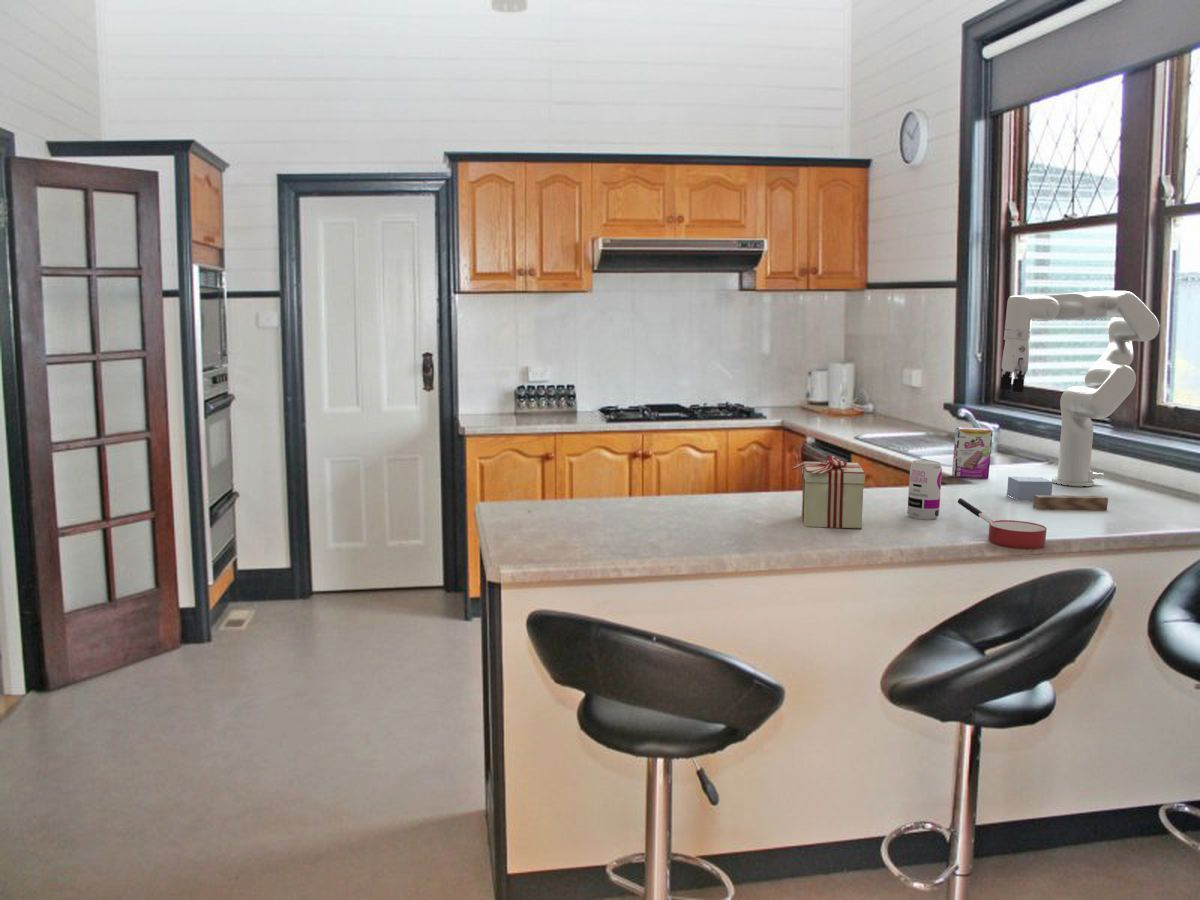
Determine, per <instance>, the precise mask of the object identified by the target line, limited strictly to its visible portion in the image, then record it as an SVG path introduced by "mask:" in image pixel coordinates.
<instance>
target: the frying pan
mask: <svg viewBox="0 0 1200 900" xmlns="http://www.w3.org/2000/svg"><path fill="white" fill-rule="evenodd" d="M957 503H958V505H960V506H962V507H963V508H964V509H966V510H968V511H969V512H970V513H972V514H974V515H975V516H976V517H978V518H981V519H982V520H984V521H985V522H987V523H988V539H987V540H988V542H990V543H992V544H993V545H996V546H1000V547H1005V548H1011V549H1018V550H1019V549H1020V550H1022V549H1023V550H1025V549H1026V550H1032V549H1033V550H1034V549H1035V550H1036V549H1041V548H1043V547H1045V545H1046V540H1047V527H1046V526H1044V525H1042V524H1040V523H1039V524H1038V523H1034V522H1031V521H1030V522H1029V521H1022V520H1012V519H1011V520H1010V519H1009V520H1008V519H1007V520H1005V519H1004V520H1001V519H1000V520H993V519H991V518H990V517H988V516H987V515H986V514H984V513H983V511H981V510H979V509H978V508H977V507H975V506H973V505H972V503H970V502H968V501H966V500H965V499H963V498H958V500H957Z"/></svg>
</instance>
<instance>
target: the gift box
mask: <svg viewBox="0 0 1200 900" xmlns="http://www.w3.org/2000/svg"><path fill="white" fill-rule="evenodd" d="M827 459H828V460H824V461H802V462H801V463H798V464H796V465H795V466H793V467H791V468H790V470H792V471H793V470H797V469H798V468H800V467H801V473H802V495H801V496H802V497H801V499H802V500H801V520H802V522H803V526H804V527H805V528H827V529H856V530H857V529H862V528H863V506H864V505H863V503H864V485H865V484H866V483H865V482H866V472H865V470H864V469H863V468H862V467H861V465H860V464H859V462H846V461H842V460H841V459H839V458H837V457H836V456H834V455H831V454H827Z"/></svg>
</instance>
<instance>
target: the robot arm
mask: <svg viewBox="0 0 1200 900" xmlns="http://www.w3.org/2000/svg"><path fill="white" fill-rule="evenodd" d="M1105 318H1106V319H1107V318H1111V319H1110V321H1109V322H1108V326H1107V332H1108V346H1107V349H1106V350H1105V351H1104V353H1103V354H1102V355H1101V357H1100V358H1099V359H1097V361H1096V362H1095V363H1094V364H1093V365H1092V366H1091V367H1090V369H1089V370H1088V371H1087V372H1086V374H1085V377H1084V384H1085V386H1081V385H1080V386H1079V385H1076V386H1070V387H1069V388H1067V389H1065V390H1064V391H1063V393H1062V394H1061V397H1060V399H1059V400H1060V402H1059V404H1060V406H1059V407H1060V413H1061V429H1060V441H1059V453H1058V467H1057V476H1055V477H1052V478H1051V481H1052V482H1053V483H1054V484H1056V483H1057V485H1061V484H1062V486H1067V485H1068V487H1069V486H1070V487H1083V486H1086V487H1093V486H1094V485H1095V481H1093V480H1095V479H1098V480H1104V479H1105V473H1104V472H1095V471H1094V470H1091V461H1092V450H1093V449H1092V448H1093V440H1094V439H1093V437H1094V425H1093V422H1092V419H1094V420H1104V419H1106V418H1108V417H1109V416H1111V415H1112V414H1113V413H1114V412H1115V411H1116V410H1117V409H1118V408H1119V406H1121V404H1122V403H1123V402H1124V401H1125V400H1126V398H1128V396H1129V395H1130V394H1131V393H1132V391H1133V389H1134V388H1135V386H1136V380H1137V374H1136V373H1135V371H1134V369H1133V368H1132V367H1131V366H1130V365H1131V364H1132V363H1133V360H1134V348H1133V347H1134V346H1133V342H1134V341H1135V342H1149V341H1151V340H1153V339H1155V338H1156V337H1157V336H1158V334H1159V332H1160V323H1159V320H1158V318H1157V317H1156V315H1155V314H1154V313H1153V312H1152V311H1151V310H1150V309H1149V307H1147V305H1146V304H1145V303H1144V302H1143V301H1142V300H1141V299H1140V298H1139V297H1138V296H1136V295H1135V294H1134V293H1133V292H1131V291H1127V290H1101V291H1100V290H1098V291H1085V292H1082V291H1081V292H1068V293H1059V294H1057V293H1056V294H1045V295H1027V296H1026V295H1011V296H1009V297H1008V299H1007V303H1006V314H1005V321H1004V322H1005V323H1004V332H1003V333H1004V335H1003V340H1004V347H1003V352H1002V360H1001V369H1000V371H1001V373H1000V376H1001V378H1000V385H999V388H1000V390H1006V391H1007V390H1008V391H1010V390H1011V391H1012V392H1013V393H1014V392H1015V393H1024V392H1023V391H1024V385H1025V378H1026V374H1027V372H1028V371H1029V360H1030V359H1029V358H1030V357H1029V356H1030V345H1029V344H1030V337H1031V328H1032V321H1038V322H1040V321H1041V322H1047V321H1051V320H1053V319H1055V320H1056V319H1059V320H1071V321H1072V320H1073V321H1074V320H1077V321H1079V320H1091V319H1105ZM1012 374H1013V375H1014V376H1013V377H1014V378H1013V377H1011V376H1012ZM1053 483H1052V484H1053Z"/></svg>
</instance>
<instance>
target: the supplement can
mask: <svg viewBox="0 0 1200 900" xmlns="http://www.w3.org/2000/svg"><path fill="white" fill-rule="evenodd" d="M909 468H910V469H909V479H908V480H909V483H908V497H907V498H908V499H907V513H906V514H907V515H908V517H910V518H911V519H916V520H923V521H928V520H930V521H931V520H936V519H937V518H938V517H939V516H940V503H941V487H942V477H943V476H942V475H943V467H942V466H941V462H939V461H935V460H927V459H926V460H923V459H921V460H919V459H917V460H913V461H912V463H911V464H910V466H909Z"/></svg>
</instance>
